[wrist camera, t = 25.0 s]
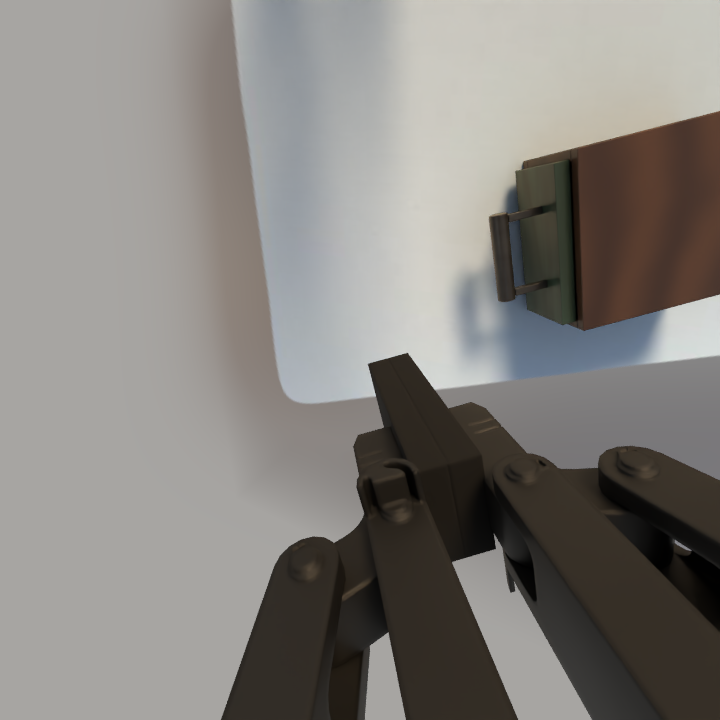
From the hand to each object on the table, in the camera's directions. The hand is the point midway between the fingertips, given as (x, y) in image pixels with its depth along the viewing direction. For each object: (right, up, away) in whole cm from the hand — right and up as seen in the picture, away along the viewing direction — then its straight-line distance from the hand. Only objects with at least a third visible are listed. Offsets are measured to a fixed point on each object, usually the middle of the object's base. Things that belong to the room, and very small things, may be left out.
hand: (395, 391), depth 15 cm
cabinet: (+21, +14, +22) cm, 34 cm away
